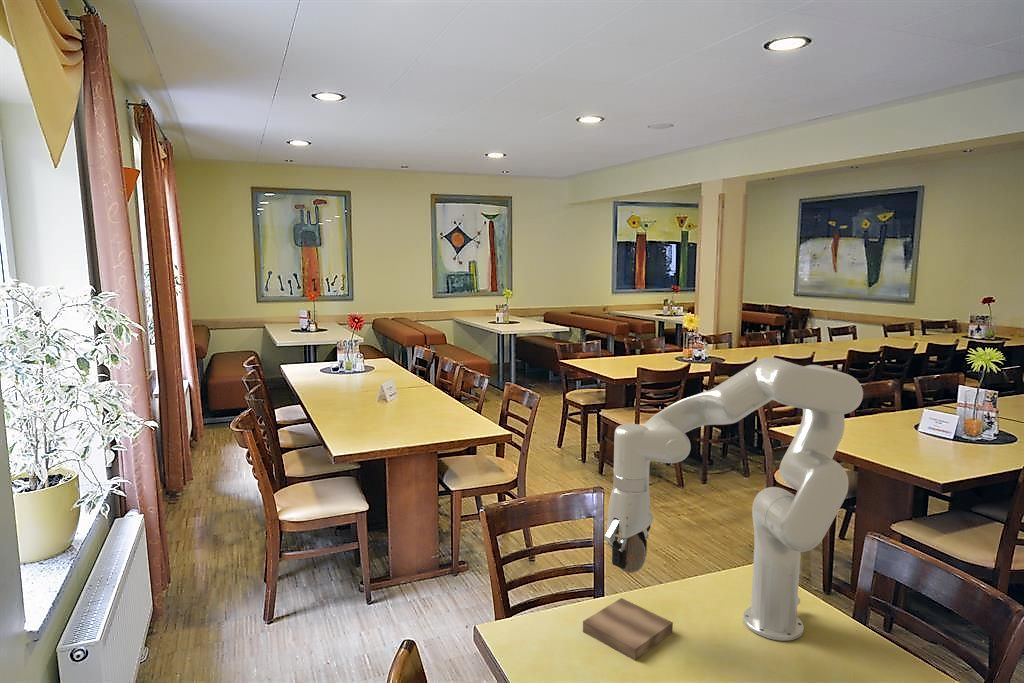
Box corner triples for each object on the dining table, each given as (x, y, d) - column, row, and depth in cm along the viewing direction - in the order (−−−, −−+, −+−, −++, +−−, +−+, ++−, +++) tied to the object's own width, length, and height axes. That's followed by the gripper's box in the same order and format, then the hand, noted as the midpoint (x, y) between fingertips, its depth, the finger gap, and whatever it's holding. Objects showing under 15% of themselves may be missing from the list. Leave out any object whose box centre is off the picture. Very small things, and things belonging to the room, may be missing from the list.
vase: (645, 577, 135) (646, 538, 134) (612, 574, 136) (613, 536, 135) (645, 562, 142) (646, 525, 140) (614, 559, 143) (614, 522, 142)
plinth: (621, 607, 151) (621, 597, 150) (672, 632, 141) (672, 622, 140) (582, 631, 141) (583, 621, 141) (634, 660, 131) (635, 649, 131)
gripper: (640, 468, 145) (638, 542, 147) (591, 487, 133) (590, 567, 135) (668, 476, 139) (666, 553, 142) (620, 497, 128) (618, 580, 130)
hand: (629, 559), depth 139 cm, fingers closed on vase, 6 cm apart
